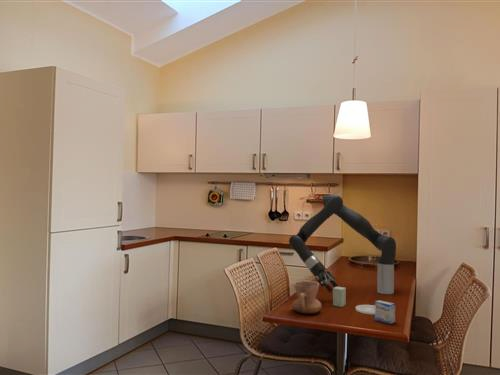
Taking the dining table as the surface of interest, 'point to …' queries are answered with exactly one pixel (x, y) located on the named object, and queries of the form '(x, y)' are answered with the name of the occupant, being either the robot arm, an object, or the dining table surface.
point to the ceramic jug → (306, 297)
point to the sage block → (339, 296)
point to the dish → (366, 309)
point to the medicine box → (385, 311)
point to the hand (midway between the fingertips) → (334, 289)
